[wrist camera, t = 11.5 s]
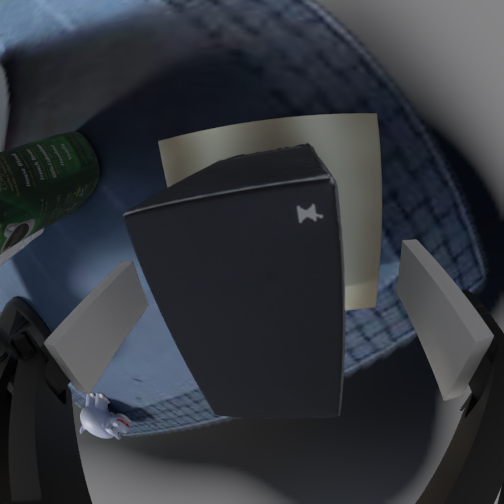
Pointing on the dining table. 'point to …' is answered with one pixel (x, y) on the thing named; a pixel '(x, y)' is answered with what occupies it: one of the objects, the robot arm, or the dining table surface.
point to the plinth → (335, 159)
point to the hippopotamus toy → (102, 418)
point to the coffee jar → (44, 184)
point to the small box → (252, 281)
